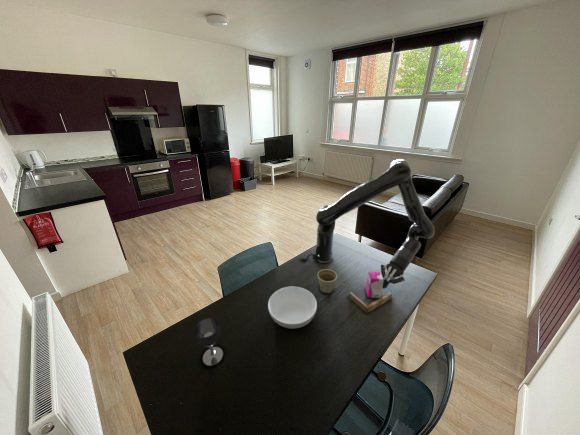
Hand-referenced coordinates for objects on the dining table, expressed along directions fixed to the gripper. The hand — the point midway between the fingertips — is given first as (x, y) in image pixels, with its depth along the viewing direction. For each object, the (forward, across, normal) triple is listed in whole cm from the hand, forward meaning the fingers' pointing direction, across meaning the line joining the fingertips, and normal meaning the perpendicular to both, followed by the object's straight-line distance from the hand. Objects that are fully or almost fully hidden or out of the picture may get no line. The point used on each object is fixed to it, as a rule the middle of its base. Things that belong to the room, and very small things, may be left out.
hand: (382, 287), depth 113 cm
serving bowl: (+33, -12, -27) cm, 45 cm away
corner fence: (+8, -1, -2) cm, 8 cm away
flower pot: (+17, -17, -11) cm, 26 cm away
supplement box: (+5, -2, +1) cm, 6 cm away
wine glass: (+58, -12, -52) cm, 79 cm away
